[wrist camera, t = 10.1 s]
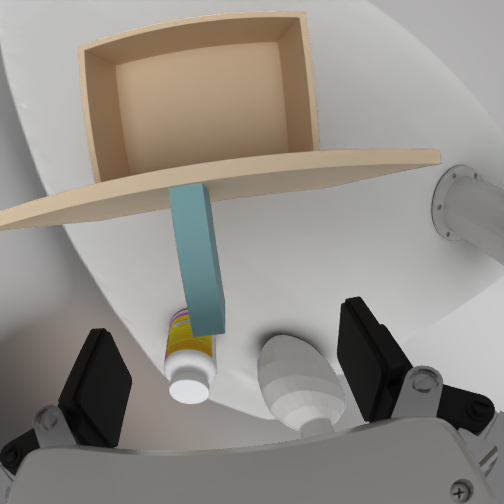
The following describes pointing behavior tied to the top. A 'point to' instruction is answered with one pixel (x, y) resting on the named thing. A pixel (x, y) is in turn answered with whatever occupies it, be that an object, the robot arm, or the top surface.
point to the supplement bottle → (189, 361)
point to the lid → (199, 208)
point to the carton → (198, 92)
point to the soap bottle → (300, 386)
